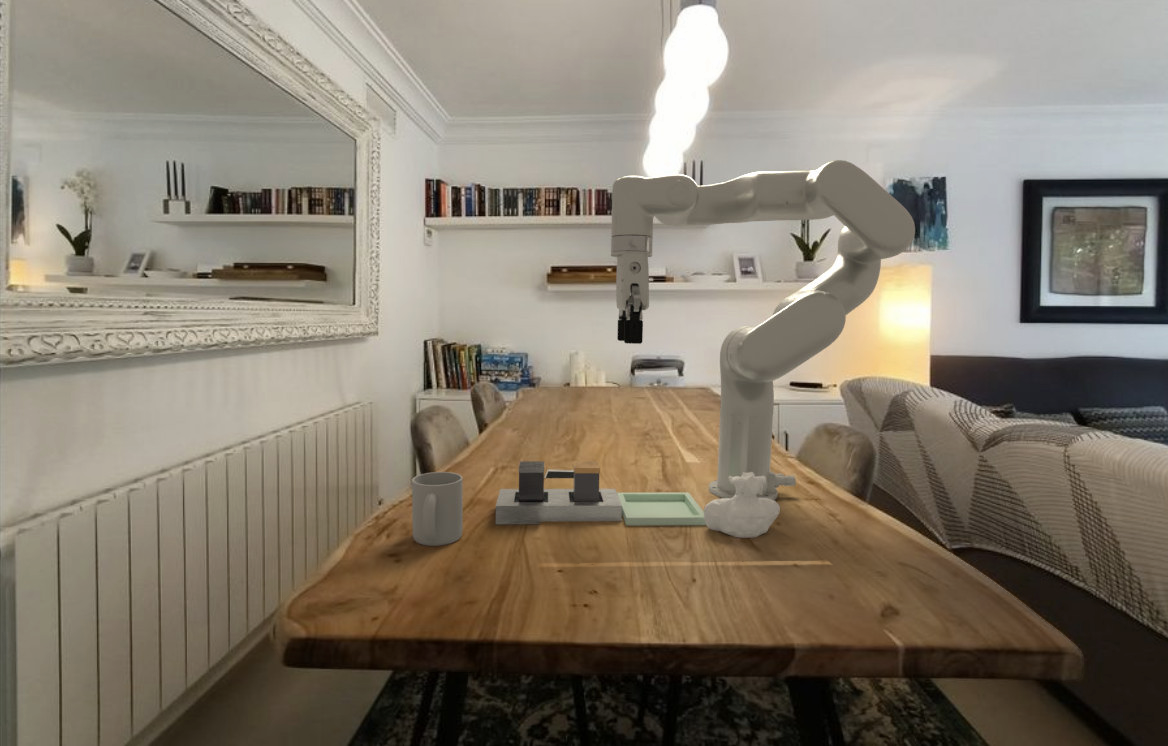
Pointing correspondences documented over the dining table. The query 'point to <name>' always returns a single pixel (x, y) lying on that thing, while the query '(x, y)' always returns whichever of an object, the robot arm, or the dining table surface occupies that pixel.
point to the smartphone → (559, 474)
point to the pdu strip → (551, 501)
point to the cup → (437, 508)
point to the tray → (661, 509)
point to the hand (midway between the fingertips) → (629, 342)
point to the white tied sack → (742, 509)
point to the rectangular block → (586, 482)
